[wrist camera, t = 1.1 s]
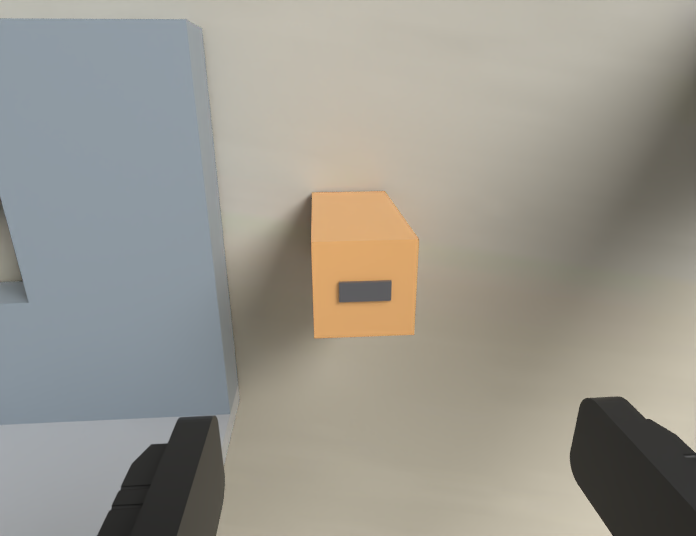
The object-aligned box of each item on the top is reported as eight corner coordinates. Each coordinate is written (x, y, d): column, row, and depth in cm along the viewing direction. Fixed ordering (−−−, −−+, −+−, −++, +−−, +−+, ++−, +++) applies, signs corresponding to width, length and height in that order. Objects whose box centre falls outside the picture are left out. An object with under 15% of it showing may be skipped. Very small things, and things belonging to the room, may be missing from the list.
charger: (384, 191, 26) (419, 240, 17) (383, 259, 27) (414, 336, 19) (311, 192, 26) (310, 243, 17) (314, 261, 27) (314, 340, 18)
